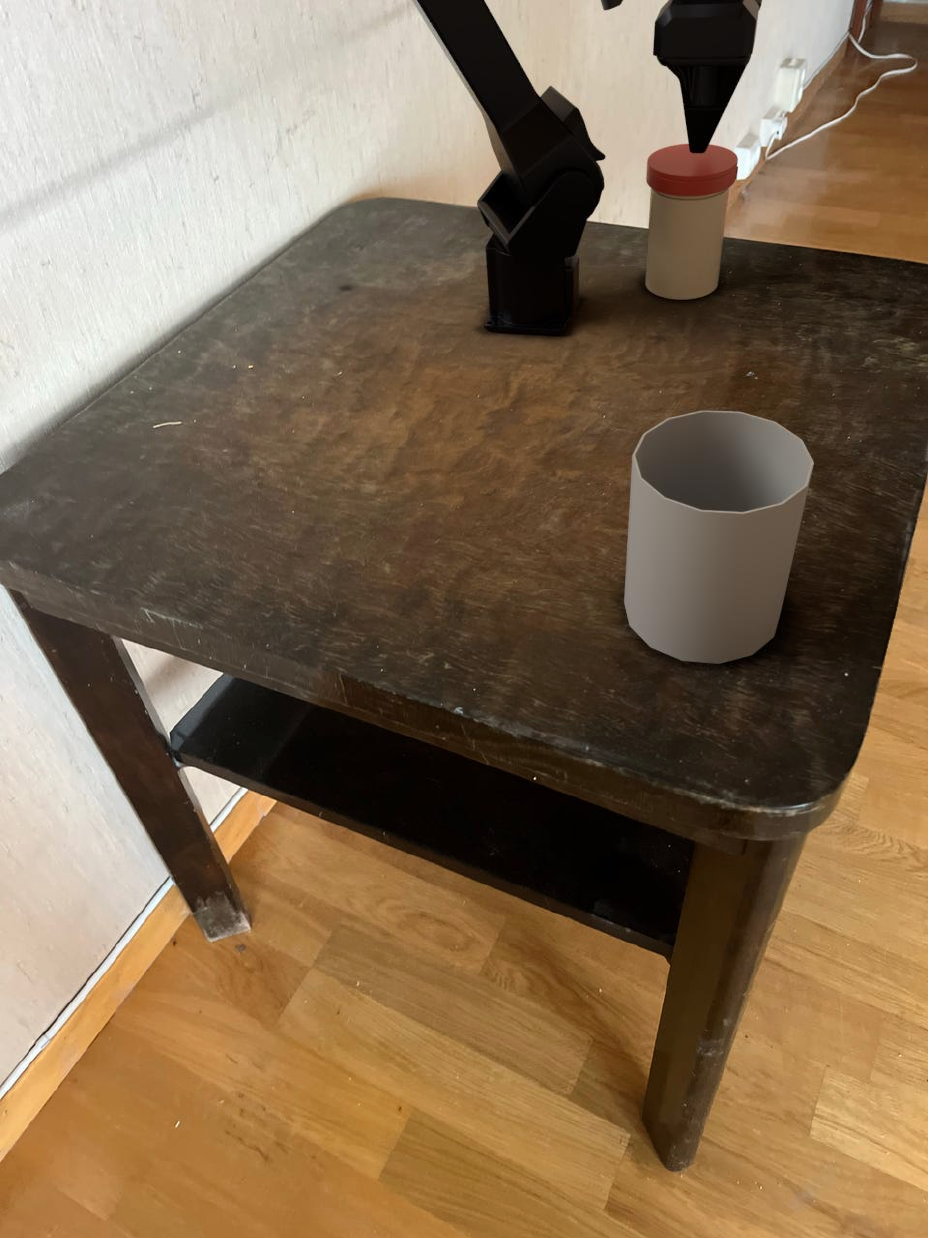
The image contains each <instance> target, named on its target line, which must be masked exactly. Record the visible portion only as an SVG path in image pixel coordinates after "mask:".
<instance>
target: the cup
mask: <svg viewBox="0 0 928 1238" xmlns="http://www.w3.org/2000/svg"><path fill="white" fill-rule="evenodd" d="M631 457H632V458H631V473H630V474H631V475H630V489H629V490H630V492H629V509H628V510H629V511H628V527H627V528H628V529H627V543H626V545H627V546H626V561H625V562H626V563H625V578H624V581H625V582H624V598H623V604H624V609H625V612H626V617H627V620H628V625H629V627H630V628H631V630H633V631H634V632H635V633H636V635H638V636H639V637H640V638H641V639H642V640H643V641H644V643H646V644H647V646H648V647H649V648H651V649H653V650H656V651H658V652H660V653H663V654H665V655H668V656H670V657H673V658H675V659H677V660H679V661H681V662H689V663H690V662H691V663H692V662H693V663H702V664H717V665H720V664H723V663H727V662H733V661H736V660H739V659H743V658H746V657H750V656H753V655H754V654H755V653H756V652H758V651H759V650H760V649H761V648H763V647H764V646H765V645H766V644H767V643H769V642H770V641H771V640H772V639H774V637H775V635H776V632H777V627H778V624H779V620H780V617H781V615H782V614H781V613H782V610H783V604H784V599H785V597H786V596H785V595H786V590H787V587H788V581H789V578H790V573H791V568H792V565H793V560H794V555H795V550H796V545H797V541H798V538H799V532H800V528H801V524H802V518H803V514H804V509H805V505H806V501H807V496H808V492H809V487H810V483H811V479H812V474H813V470H814V465H815V462H814V459H813V458H812V456H811V454H810V452H809V450H808V448H807V446H806V444H805V442H804V440H803V439H802V438H800V437H799V436H797V435H796V434H794V433H793V432H791V431H790V430H789V429H787V428H785V427H784V426H783V425H781V424H779V422H777V421H774V420H770V419H767V418H764V417H760V416H757V415H753V414H750V413H746V412H743V411H732V410H730V411H727V410H697V411H693V412H690V413H685V414H681V415H680V414H679V415H676V416H673V417H672V416H671V417H667V418H666V419H664V420H662V421H661V422H659V423H658V424H657V425H655V426H654V427H652V428H650V429H649V430H647V431H645V432H644V433H642V436H641V437H640V439H639V441H638V443H637V445H636V447H635V449H634V451H633V453H632V456H631Z"/></svg>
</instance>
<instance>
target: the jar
mask: <svg viewBox="0 0 928 1238" xmlns="http://www.w3.org/2000/svg"><path fill="white" fill-rule="evenodd" d="M729 193H730V187H729V188H728V189H726V190H723V191H721V192H718V193H714V194H710V195H703V196H674V195H668V194H664V193H661V192H658V191H656V190H654V189H652V188H651V187H650V195H649V211H648V212H649V213H648V229H647V246H646V263H645V264H646V265H645V280H644V281H645V282H644V283H645V287H646V289H647V290H648V291H649V292H650V293H652V294H653V295H654V296H658V297H662V298H664V299H669V300H678V301H679V300H681V301H682V300H683V301H685V300H694V299H698V298H703V297H706V296H709V295H710V294H711V293H713V292H714V291H715V290H717V288H718V285H719V280H720V271H721V263H722V254H723V247H724V246H723V245H724V238H725V228H726V222H727V221H726V220H727V211H728V202H729V195H730V194H729Z"/></svg>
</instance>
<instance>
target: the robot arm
mask: <svg viewBox="0 0 928 1238" xmlns="http://www.w3.org/2000/svg"><path fill="white" fill-rule="evenodd" d="M623 1H624V0H600V3H601V7H602V10H603V11H609V10H612V9H615V8H617V7H620V6H621V5H622V3H623ZM411 2H412V3H413V5H414V6H415V8H416V9H417V11H418V13H419V14H420V16H421V18H422V19H423V21H424V23H425V25H426V26H427V27H428V29H429V31H430V33H431V34H432V35H433V37H434V39H435V40H436V42H437V43H438V45H439V47H440V48H441V50H442V52H443V53H444V55H445V57H446V58H447V60H448V62H449V63H450V64H451V66H452V68H453V70H454V71H455V72H456V74H457V76H458V78H459V79H460V81H461V82H462V84H463V85H464V88H465V89H466V90H467V92H468V93H469V95H470V97H471V98H472V100H473V102H474V104H475V105H476V107H477V108H478V110H479V111H480V113H481V115H482V118H483V120H484V124H485V128H486V131H487V134H488V135H487V136H488V137H489V141H490V144H491V148H492V151H493V154H494V156H495V158H496V161H497V163H498V165H499V168H500V171H499V172H498V173H497V174H496V176H495V177H494V178H493V179H492V181H491V182H490V183H489V185H488V186H487V187H486V189H485V190H484V192H483V193H482V194H481V195H480V196H479V198H478V200H477V201H476V206H477V208H478V210H479V213H480V215H481V217H482V220H483V222H484V224H485V225H486V227H487V228H489V229H490V230H491V232H492V234H491V236H490V237H489V239H488V241H487V243H486V245H485V260H486V261H485V262H486V263H485V264H486V279H487V292H488V293H487V295H488V308H489V311H488V314H487V316H486V318H485V320H484V322H483V328H484V330H485V331H490V332H506V333H521V334H522V333H524V334H527V333H528V334H539V335H541V334H542V335H557V336H558V335H563V334H564V332H565V331H566V327H567V325H568V322H569V320H570V318H572V317H574V315H575V313H576V310H577V309H578V304H579V303H580V255H579V254H578V253H577V251H578V249H579V246H580V242H581V239H582V237H583V233H584V231H585V227H586V225H587V222H588V219H589V218H590V217H591V216H592V215H593V214H594V213H595V210H596V209H597V207H598V205H599V203H600V201H601V197H602V194H603V191H604V190H605V177H604V174H603V170H602V168H601V166H600V164H599V161H600V162H601V161H605V160H606V157H607V156H606V154H604V152H602V150H600V149H599V148H598V147H597V146H596V145H595V144H594V143H593V141H592V140H591V137H590V135H589V132H588V129H587V125H586V123H585V120H584V118H583V115H582V113H581V111H580V109H579V107H578V106H576V105H575V104H574V103H573V102H571V101H570V100H569V99H568V98H567V97H565V96H564V95H563V94H562V93H561V92H559V91H558V90H557V89H556V88H555V87H553V85H549V86H548V87H547V88H546V90H545V91H543V93H541V95H539V93H538V92H537V91H536V89H535V87H534V86H533V83H532V82H531V80H530V79H529V77H528V75H527V73H526V71H525V70H524V68H523V66H522V64H521V63H520V60H519V59H518V57H517V55H516V54H515V52H514V50H513V48H512V47H511V44H510V43H509V41H508V40H507V38H506V36H505V34H504V33H503V31H502V28H501V27H500V25H499V24H498V22H497V20H496V18H495V16H494V15H493V13H492V12H491V9H490V8H489V6H488V4H487V2H486V1H485V0H411ZM762 3H763V0H667V1H666V3H665V4H663V6H662V7H661V8H660V9H659V12H658V14H657V16H656V19H655V21H654V28H653V29H654V30H653V45H652V46H653V48H652V55H653V56H654V57H656V59H657V61H658V63H659V64H660V65H661V66H663V67H665V68H667V69H668V70H669V71H670V72H671V73H672V74H673V75H674V76H675V77H677V79H678V82H679V87H680V92H681V93H680V94H681V99H682V106H683V114H684V120H685V128H686V136H687V141H688V142H687V144H689V150H690V152H691V153H704V152H705V151H706V150H707V148H708V145H709V144H710V143H711V141H712V139H713V137H714V135H715V132H716V130H717V129H718V127H719V124H720V122H721V120H722V118H723V115H724V114H725V111H726V109H727V108H728V105H729V103H730V101H731V99H732V97H733V95H734V93H735V91H736V89H737V87H738V84H739V83H740V81H741V78H742V77H743V74H744V72H745V70H746V68H747V67H748V64H749V63H750V62H751V58H752V55H753V53H754V47H755V42H756V36H757V27H758V19H759V12H760V10H761V7H762Z"/></svg>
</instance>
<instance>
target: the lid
mask: <svg viewBox="0 0 928 1238" xmlns="http://www.w3.org/2000/svg"><path fill="white" fill-rule="evenodd" d="M738 162H739V158H738V155H737V154H736V153H735V152H734V151H732V150H731V149H729V148H727V147H723V146H720V145H717V144H716V145H715V144H710V143H709V145H708V148H707V150H706V151H705V152H704V153H691V152H690V150H689V143H680V144H674V145H669V146H666V147H663V148H660V149H657V150H655V151H653V152H652V153H650V155H649V156H648V158H647V161H646V177H645V178H646V179H645V180H646V184H647V185H648V187H650V189H651V188H652V189H654V190H656V191H658V192H661V193H664V194H668V195H674V196H703V195H710V194H714V193H718V192H721V191H723V190H726V189H728V188H729V189H730V188H731V187H732V186H733V185H734V184H735V182H736V180H737V179H738V171H739V165H738Z"/></svg>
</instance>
